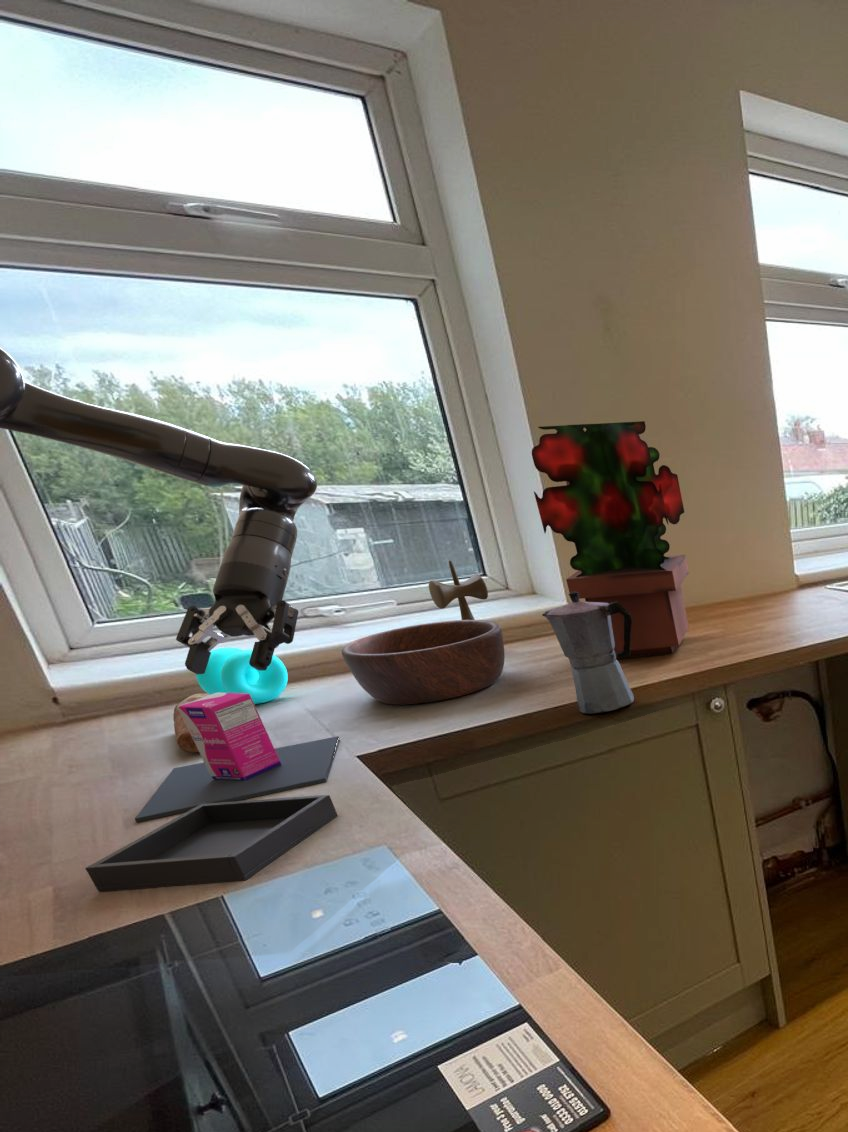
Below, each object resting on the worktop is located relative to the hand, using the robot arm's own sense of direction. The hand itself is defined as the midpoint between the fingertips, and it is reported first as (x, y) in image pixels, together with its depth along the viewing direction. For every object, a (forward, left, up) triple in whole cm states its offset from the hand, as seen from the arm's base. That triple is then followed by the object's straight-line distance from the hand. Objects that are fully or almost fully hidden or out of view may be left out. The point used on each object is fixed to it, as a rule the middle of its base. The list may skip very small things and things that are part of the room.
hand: (226, 669), depth 116 cm
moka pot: (+47, -5, -15) cm, 50 cm away
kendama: (+29, +53, -15) cm, 62 cm away
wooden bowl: (+22, +28, -15) cm, 39 cm away
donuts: (-8, +44, -15) cm, 47 cm away
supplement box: (-2, -3, -15) cm, 15 cm away
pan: (0, -31, -15) cm, 35 cm away
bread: (-11, +23, -15) cm, 29 cm away
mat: (-2, -3, -15) cm, 16 cm away
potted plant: (+60, +30, -15) cm, 69 cm away
